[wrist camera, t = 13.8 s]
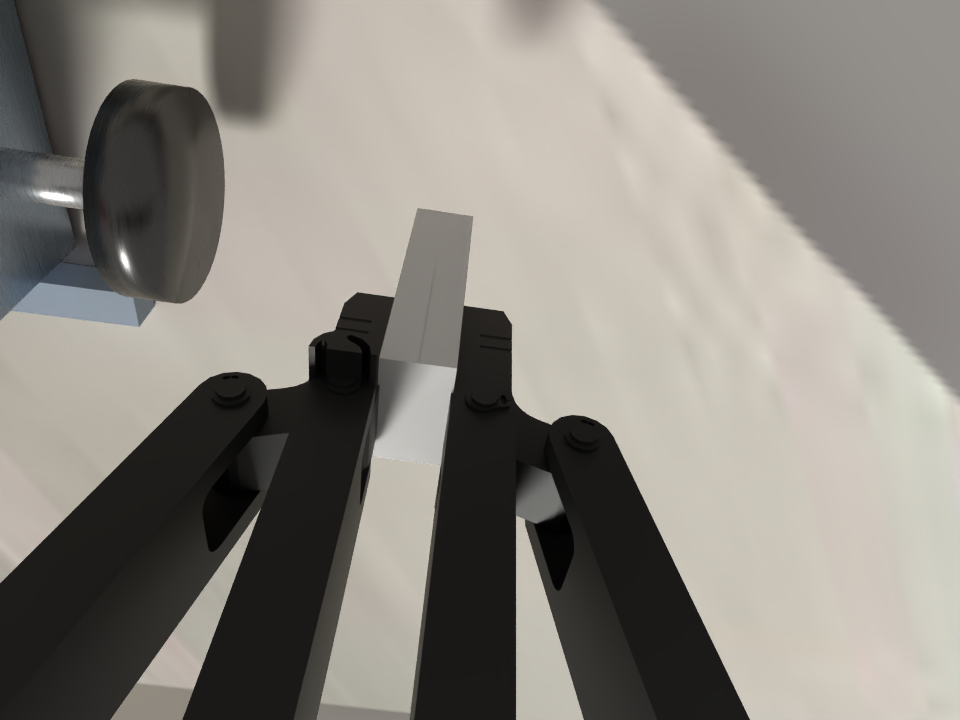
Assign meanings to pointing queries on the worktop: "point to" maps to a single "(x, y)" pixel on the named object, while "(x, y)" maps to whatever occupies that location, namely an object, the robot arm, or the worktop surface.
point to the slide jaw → (108, 185)
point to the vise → (83, 298)
